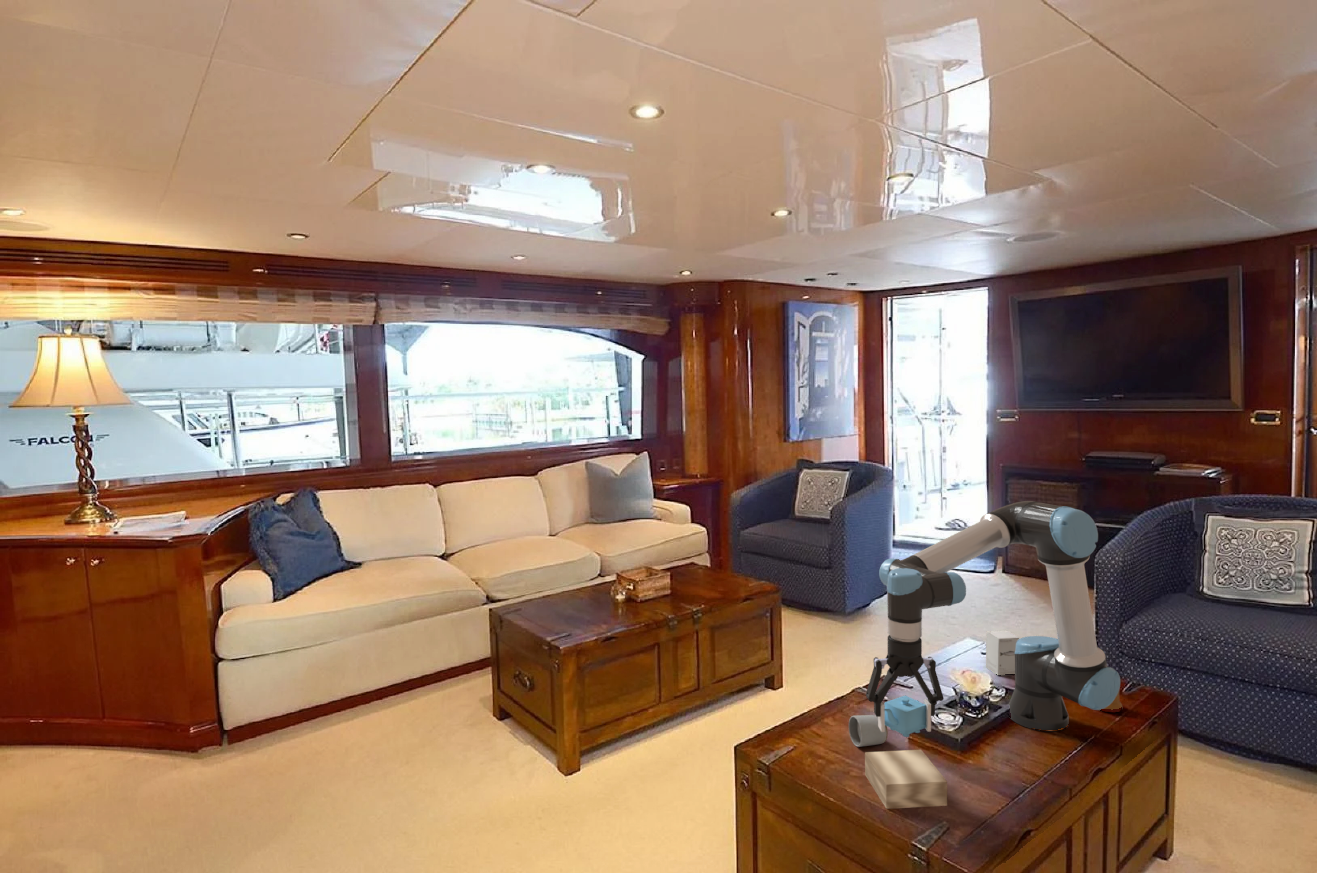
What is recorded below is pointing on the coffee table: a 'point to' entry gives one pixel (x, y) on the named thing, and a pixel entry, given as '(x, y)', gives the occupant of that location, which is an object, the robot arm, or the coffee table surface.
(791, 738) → the coffee table surface
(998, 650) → the supplement box
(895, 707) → the blue notched cube block
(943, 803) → the maple block
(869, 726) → the ceramic mug
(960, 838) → the coffee table surface
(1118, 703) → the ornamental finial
